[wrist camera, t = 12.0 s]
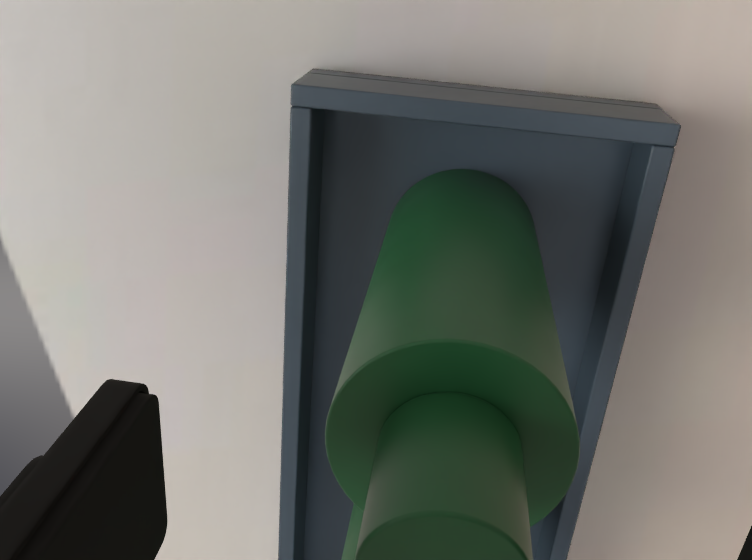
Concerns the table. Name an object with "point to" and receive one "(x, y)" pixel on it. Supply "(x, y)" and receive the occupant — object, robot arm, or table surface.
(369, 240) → the tray
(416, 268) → the loose bottle
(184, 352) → the table surface
